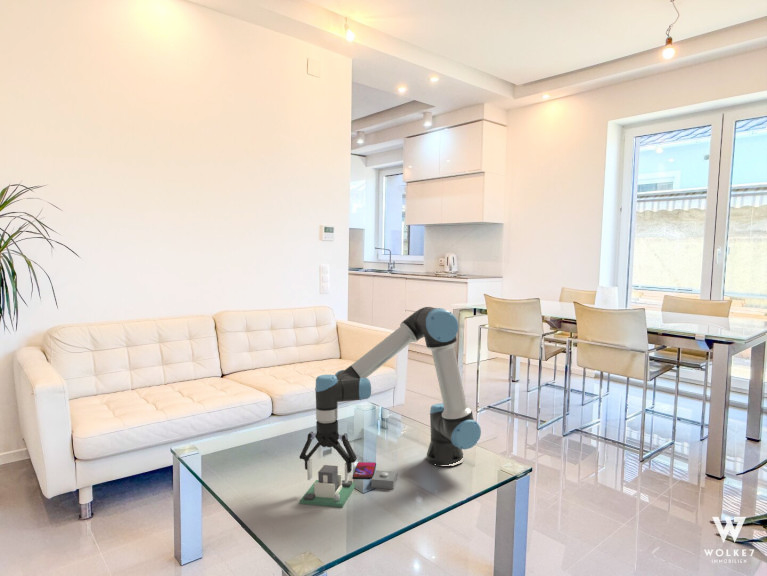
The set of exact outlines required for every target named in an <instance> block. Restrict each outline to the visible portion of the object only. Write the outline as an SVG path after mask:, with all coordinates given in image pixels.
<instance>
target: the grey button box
mask: <svg viewBox="0 0 767 576" xmlns="http://www.w3.org/2000/svg"><path fill="white" fill-rule="evenodd" d="M370 480H371V481H370V483H371V488H374V489H385V490H386V489H387V490H394V488H395V487H396V484H397V481H398V471H390V470H376V469H375V471H374V475H373V477H372V479H370Z"/></svg>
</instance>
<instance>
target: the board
mask: <svg viewBox="0 0 767 576" xmlns="http://www.w3.org/2000/svg"><path fill="white" fill-rule="evenodd" d="M355 488H356V482H353V480H349V481H348V482H347V483H345V479H343V474H342V473H338V489H337V490H336V492H335V484H330V483H319V480H318V479H315V481H314V482H313V483H312V484H311V486H310V487H309V488H308V490H306V492H305V493H304V494H303V496H301V498H300V500H299V504H300V505H308V506H309V505H310V506H321V507H335V508H344V506H345V504H346V503H347V501H348V499H349V498H350V496H351V495H352V492H353V491H354V489H355Z"/></svg>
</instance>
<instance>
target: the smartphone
mask: <svg viewBox="0 0 767 576" xmlns="http://www.w3.org/2000/svg"><path fill="white" fill-rule="evenodd" d="M376 466H377V463H376V462H375V461H374V462H371V461H370V462H369V461H368V462H367V461H366V462H365V461H364V462H362V461H361V462H357V464H356V467H355V469H354V473H353V475H352V478H353V479H354V480H371V479H372V477H373V475H374V474H375V472H376Z"/></svg>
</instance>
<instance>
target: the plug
mask: <svg viewBox="0 0 767 576" xmlns="http://www.w3.org/2000/svg"><path fill="white" fill-rule="evenodd" d="M338 470H339V469H338V465H331V464H330V465H329V464H324V465H322V466H321V468H320V469H319V470H318V472H317V474H318V479H317V480H319V483H330V484H335V492H336V490H337V489H338V474H339V472H338Z"/></svg>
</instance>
